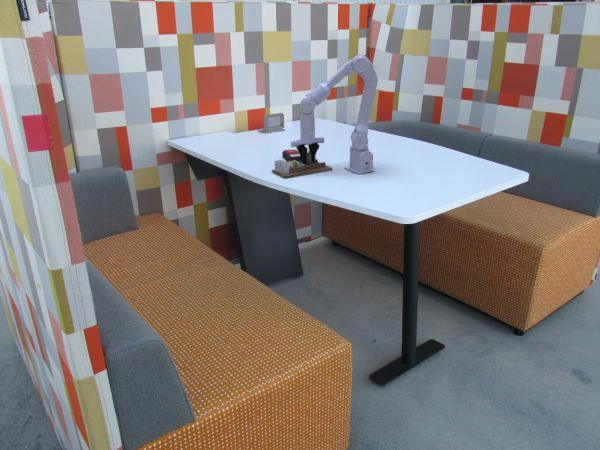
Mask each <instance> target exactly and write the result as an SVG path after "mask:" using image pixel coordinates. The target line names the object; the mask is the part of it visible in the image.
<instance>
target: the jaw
mask: <svg viewBox="0 0 600 450" xmlns="http://www.w3.org/2000/svg"><path fill="white" fill-rule="evenodd" d="M292 161H293V162H294V163H295V167H299V166H305V165H311V164H312V153H309V152H307V155H306V164H304V163H301V164H300V162H298V161H296V160H292Z"/></svg>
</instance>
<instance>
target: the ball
mask: <svg viewBox="0 0 600 450" xmlns="http://www.w3.org/2000/svg"><path fill="white" fill-rule="evenodd" d="M286 162H287V163H289V164H290V168H293V167H295V163H294V162H293V161H286Z"/></svg>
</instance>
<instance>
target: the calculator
mask: <svg viewBox="0 0 600 450" xmlns="http://www.w3.org/2000/svg"><path fill="white" fill-rule="evenodd" d="M307 152H309V149H307ZM281 154H282V158H283V160H284V161H285V162H288V161H292V160H296V161H298V162H302V160H301V156H300V153H299V151H298V149H297V148H295V149H283V151H282V153H281ZM315 159H317V157H316V156H315Z"/></svg>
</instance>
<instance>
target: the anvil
mask: <svg viewBox="0 0 600 450" xmlns="http://www.w3.org/2000/svg"><path fill="white" fill-rule="evenodd" d="M287 162H288V161H286V160H282V159H279V160H275V161H274V169H275V171H276V172H278V173H280V174H283V175H286V174H289V171H290V164H289V163H287Z"/></svg>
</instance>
